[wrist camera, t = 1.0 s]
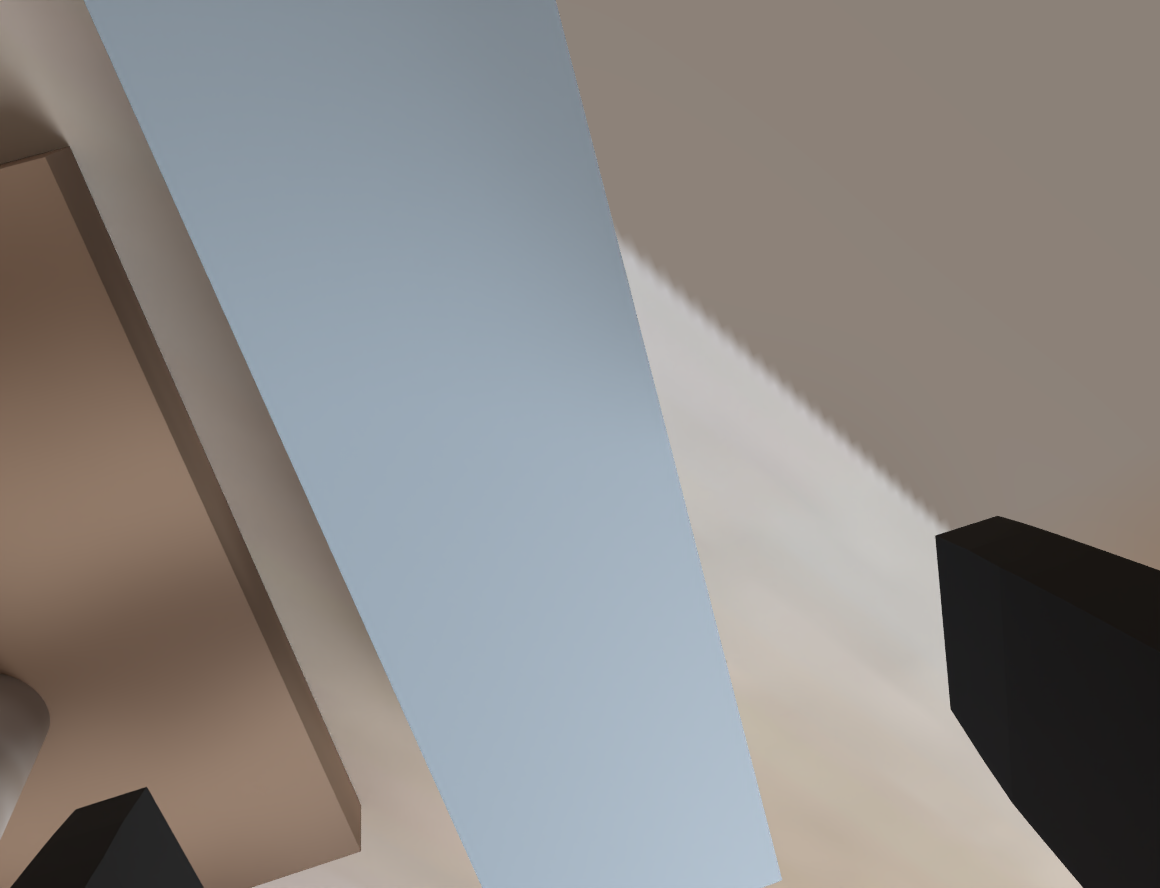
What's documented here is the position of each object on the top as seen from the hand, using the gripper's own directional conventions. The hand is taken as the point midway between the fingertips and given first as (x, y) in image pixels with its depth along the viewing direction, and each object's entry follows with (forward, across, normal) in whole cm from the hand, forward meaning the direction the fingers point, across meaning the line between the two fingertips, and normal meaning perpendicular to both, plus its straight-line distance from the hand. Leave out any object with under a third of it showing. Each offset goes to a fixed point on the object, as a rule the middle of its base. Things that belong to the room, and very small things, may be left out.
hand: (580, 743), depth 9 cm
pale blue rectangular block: (+9, 0, 0) cm, 9 cm away
